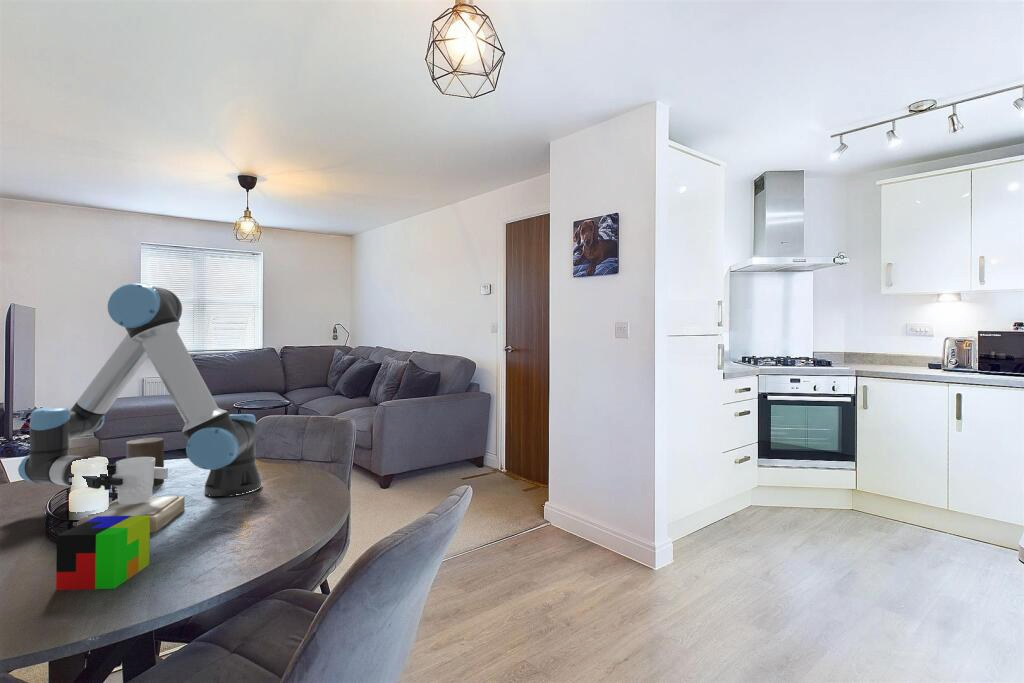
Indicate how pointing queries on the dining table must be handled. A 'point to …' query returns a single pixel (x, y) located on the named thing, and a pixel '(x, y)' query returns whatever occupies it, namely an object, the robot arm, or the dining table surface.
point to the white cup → (145, 477)
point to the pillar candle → (147, 451)
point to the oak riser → (146, 510)
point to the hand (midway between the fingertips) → (151, 477)
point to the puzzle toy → (102, 552)
